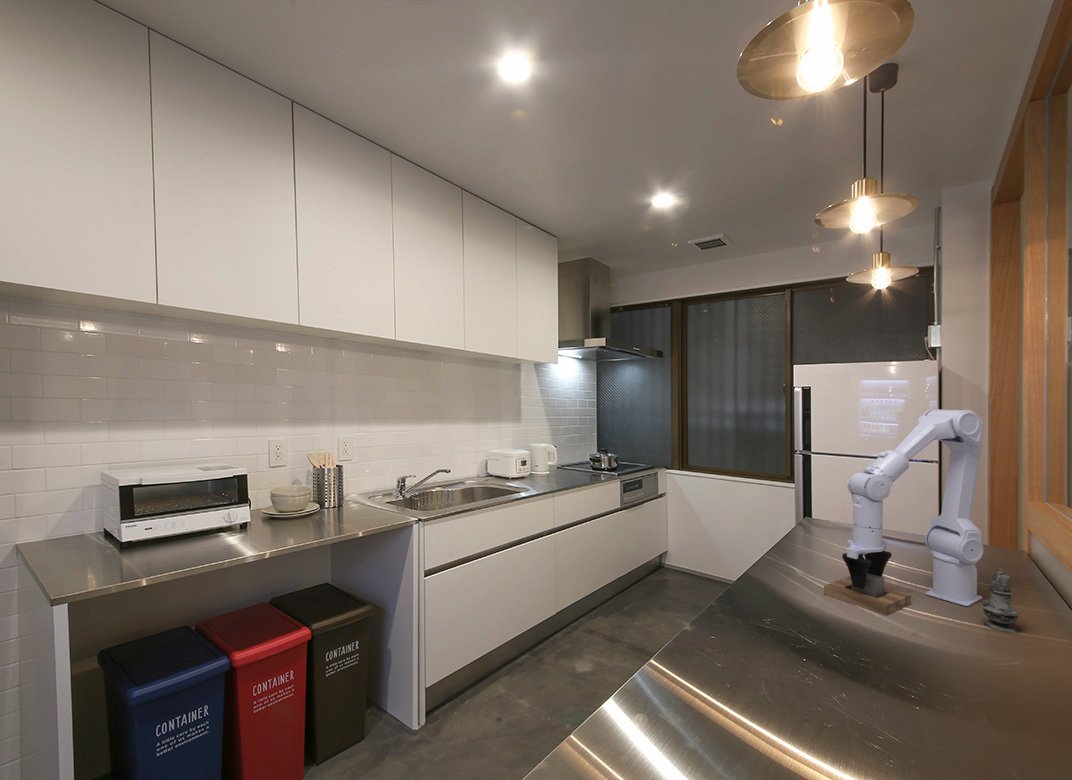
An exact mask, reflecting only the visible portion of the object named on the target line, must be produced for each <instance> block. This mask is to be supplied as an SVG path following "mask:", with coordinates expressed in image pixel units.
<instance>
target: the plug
mask: <svg viewBox="0 0 1072 780" xmlns="http://www.w3.org/2000/svg"><path fill="white" fill-rule="evenodd" d="M884 587H885V577H883V576H882V577H880V576H877V575H873V574H870V573H867V578H866V585H865V588H864V589H859V588H856V587H853V584H852V590H853V591H856V592H859V593H862V594H866V595H869V596H872V597H875V598H879V597H881V596H884Z"/></svg>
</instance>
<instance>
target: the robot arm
mask: <svg viewBox="0 0 1072 780" xmlns="http://www.w3.org/2000/svg"><path fill="white" fill-rule="evenodd" d="M917 419H918V420H917V425H916V426H915V427H914V428H913V429H912V430H911V431H910V432H909V434H908V435H907V436H906V437H905V438H904V439H903V440H902V441H901V442H900V444H899V445H898V446H896V448H895V449H894V450H891V449H890V450H889V449H887V450H885V451H880V453H879V454H878V457H877V458H876V459H875V460H874V461H872V463H871V464H869V465H867V466H866V467H865V468H864V470H863V471H859V472H856V473H854V474H853V475H852V476H851V477H850V479H849V481H848V482H847V483H846V486H847V487H846V488H847V490H848V492H849V493H850V495H851V501H852V539H848V540H847V541H846V542H847V544H848V545H849V546H848V547H847V548H846V552H845V553H842V556H841V557H842V560H843V561H844V563H845V565H846V567H847V570H848V573H849V575H850V576H849V577H851V580H852V584H853V587H856V588H859V589H864V588H865V585H866V578H867V573H870V574H873V575H877V576H880V577H883V575H884V571H885V568H886V566H887V563H888V562H889V560H890V559H891V558H892V553H891V552H890V551H887V541H886V540H883V534H884V533H883V524H884V522H883V519H884V518H883V517H884V516H883V515H884V514H883V513H884V510H883V509H884V508H883V507H884V500H885V499H886V498H888V497H889V495H890V493H891V488H892V486H893V485H894V483H895V482H896V480H898V478H900V477H901V476H902V475H903V474H904V473H905V472H906V471H908V470H909V468H910V464H909V463H910V462H909V460H911V459H913V458H914V457H915V456H916V455H917V454H919V453H920V452H921V451H922V450H924V449H925V448H926V447H927V446H928V445H930V444H931V443H932V442H933V441H935V440H938V441H940V442H942V444H944V445H945V446H946V447H947V449H949V459H948V464H947V471H946V478H945V485H944V492H943V499H942V506H941V513H940V515H938V516H937V517H935V518H933V519H932V520H930V523H929V524H930V525H929V527H928V530H927V531H926V532H925V535H924V543H925V546H926V547H927V549H929V551H930V555H931V556H932V560H933V562H932V563H933V564H932V589H930V590H928V591H926V592H925V595H927V596H929V597H933V598H936V599H940V600H944V601H947V602H951V603H954V604H957V605H960V606H965V607H970V606H972V605H973V604H975V603H976V602H978V601H980V600H982V599H983V596H982V595H979V594H977V593H978V569H977V567H976V566H975V565H977V563H978V561H980V560H981V559H982V557H983V556H984V545H983V542H982V541H983V540H982V537H983V532H982V531H981V530H980V529H979V527H977V526H976V525H975V524H974V522H972V518H973V510H974V506H975V505H974V503H975V497H976V490H977V483H978V478H979V477H978V476H979V470H980V463H981V455H982V449H983V443H982V436H983V435H982V434H983V427H984V421H983V420H982V418H981V417H980V416H979V415H978V414H977V413H976V412H975V411H973V410H970V409H961V410H960V409H938V408H929V409H928V410H926V411H925V412H924V413H923V414H922V415H921V416H920V417H918V418H917Z"/></svg>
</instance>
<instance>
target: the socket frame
mask: <svg viewBox="0 0 1072 780" xmlns="http://www.w3.org/2000/svg"><path fill="white" fill-rule="evenodd" d="M824 594H825V596H827V595H828V596H827V597H830V596H831V598H833V597H834V599H836V600H839V599H840V601H843V602H845V603H849V604H851V605H854V606H857V607H861V608H864V609H867V610H869V611H872V612H874V611H875V612H876V613H877V612H878V614H880V613H881V615H883V614H884V615H883V616H888V615H890V614H893V613H895V612H896V610H897V611H898V610H901V609H902V608H905V607H907V606H909V605H911V604H912V603H911V602H912V601H911V600H912V597H911V596H912V595H911V594H909V593H906V592H902V591H900V590H895V589H892V588H889V587H885V586H884V596H881V597H879V598H875V597H872V596H869V595H866V594H862V593H859V592H856V591H853V590H852V580H851V576H846V577H844V578H840V579H839V580H836V581H833V582H830V583H828V584H825V585H823V595H824ZM894 611H895V612H894ZM875 612H874V613H875ZM892 612H893V613H892Z"/></svg>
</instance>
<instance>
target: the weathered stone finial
mask: <svg viewBox="0 0 1072 780" xmlns="http://www.w3.org/2000/svg"><path fill="white" fill-rule="evenodd" d="M1003 571H1004V570H1003V568H1002V567H999V569H998V571H995V572H992V573H991V575H990V576H991V577H990V578H991V580H990V581H991V583H990V585H991V586H990V587H988V590H989V591H990V599H989V602H985V603H981V605H980V606H981V608H982V610H983V613H984V615H985V616H986V618H988V619H984V620H982V624H983V625H984V626H986V627H988V628H991V629H993V630H996V631H999V632H1004V633H1008V634H1009V633H1010V634H1012V633H1013V634H1015V633H1018V632H1019V629H1018V628H1017V627H1015V626H1014V625H1012V624H1015V623H1016V622H1017V621H1018V619H1019V616H1021V612H1019V610H1016V609H1015V608H1013V606H1012V603H1011V600H1012V599H1011V598H1012V597H1011V596H1012V595H1013V594H1014V592H1013V591H1011V577H1010V575H1009V574H1007V573H1005V572H1003Z"/></svg>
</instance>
